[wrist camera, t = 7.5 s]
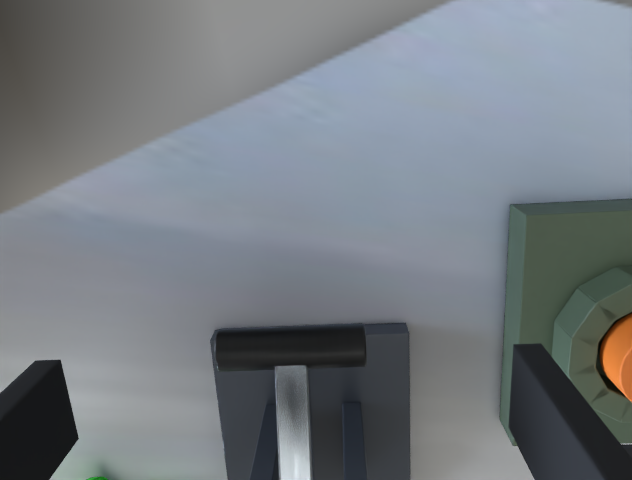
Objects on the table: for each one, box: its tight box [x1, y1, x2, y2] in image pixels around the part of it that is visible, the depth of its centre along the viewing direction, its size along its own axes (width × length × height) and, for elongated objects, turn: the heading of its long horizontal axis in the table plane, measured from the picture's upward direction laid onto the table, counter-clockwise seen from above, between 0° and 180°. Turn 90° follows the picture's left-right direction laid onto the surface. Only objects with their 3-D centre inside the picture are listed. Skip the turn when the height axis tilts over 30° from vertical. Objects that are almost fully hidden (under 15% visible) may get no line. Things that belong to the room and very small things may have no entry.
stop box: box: [500, 199, 632, 446], centre depth 24 cm, size 12×10×4 cm
